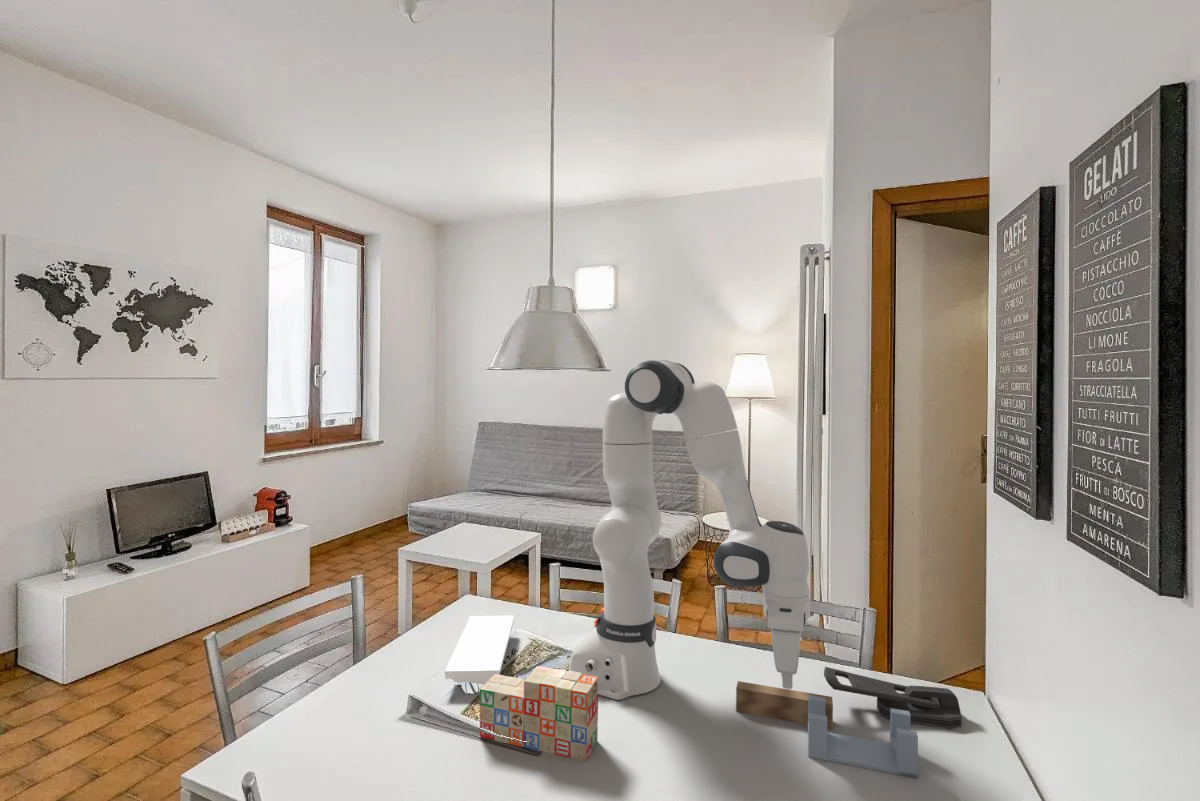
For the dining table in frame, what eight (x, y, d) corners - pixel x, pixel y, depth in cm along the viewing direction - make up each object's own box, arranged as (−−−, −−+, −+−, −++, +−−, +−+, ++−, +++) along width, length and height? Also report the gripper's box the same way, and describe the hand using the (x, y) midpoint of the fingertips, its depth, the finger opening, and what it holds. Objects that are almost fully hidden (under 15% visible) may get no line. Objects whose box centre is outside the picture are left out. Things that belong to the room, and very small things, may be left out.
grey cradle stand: (808, 757, 101) (809, 717, 101) (807, 731, 109) (808, 694, 109) (917, 778, 96) (917, 736, 96) (908, 749, 103) (909, 711, 103)
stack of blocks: (478, 738, 107) (478, 672, 106) (495, 720, 113) (495, 657, 112) (587, 762, 100) (587, 692, 100) (598, 741, 106) (599, 675, 106)
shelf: (444, 695, 122) (444, 671, 122) (470, 636, 152) (470, 616, 152) (499, 694, 122) (499, 670, 122) (514, 635, 152) (514, 615, 152)
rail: (736, 712, 116) (736, 688, 116) (737, 705, 118) (737, 681, 118) (832, 730, 110) (832, 704, 110) (831, 722, 112) (832, 696, 112)
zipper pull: (820, 664, 122) (948, 674, 118) (820, 695, 122) (948, 706, 118) (830, 685, 113) (969, 696, 109) (830, 719, 113) (968, 731, 109)
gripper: (771, 587, 124) (773, 651, 124) (767, 623, 105) (768, 698, 105) (802, 589, 122) (804, 654, 122) (803, 626, 103) (805, 703, 103)
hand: (787, 675), depth 114 cm, fingers open, 8 cm apart
